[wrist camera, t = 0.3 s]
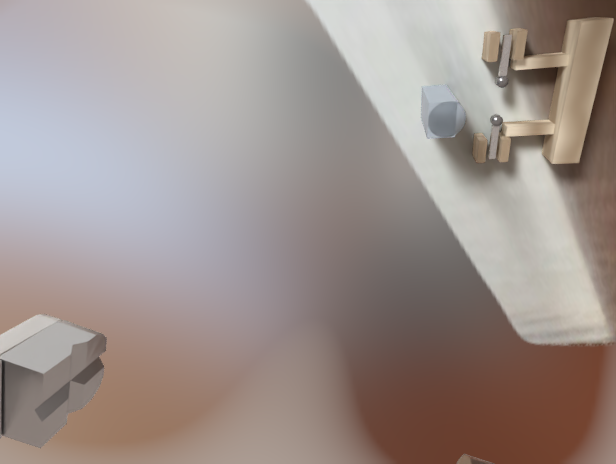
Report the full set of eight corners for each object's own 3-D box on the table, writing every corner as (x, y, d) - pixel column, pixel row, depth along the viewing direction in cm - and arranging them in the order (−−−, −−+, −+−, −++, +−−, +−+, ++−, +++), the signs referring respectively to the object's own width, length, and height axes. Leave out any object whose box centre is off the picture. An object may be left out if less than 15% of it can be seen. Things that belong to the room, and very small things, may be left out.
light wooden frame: (471, 156, 54) (477, 166, 51) (484, 29, 47) (492, 30, 43) (566, 152, 52) (578, 162, 49) (596, 17, 44) (614, 18, 41)
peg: (421, 117, 53) (427, 138, 44) (422, 86, 51) (428, 102, 42) (451, 115, 52) (464, 136, 44) (454, 83, 50) (467, 100, 42)
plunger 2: (494, 86, 47) (496, 87, 46) (500, 35, 45) (503, 35, 44) (505, 85, 47) (507, 87, 46) (511, 34, 44) (514, 34, 43)
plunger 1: (485, 156, 52) (487, 159, 51) (490, 114, 49) (492, 116, 48) (495, 156, 52) (497, 159, 51) (501, 113, 49) (503, 116, 48)
